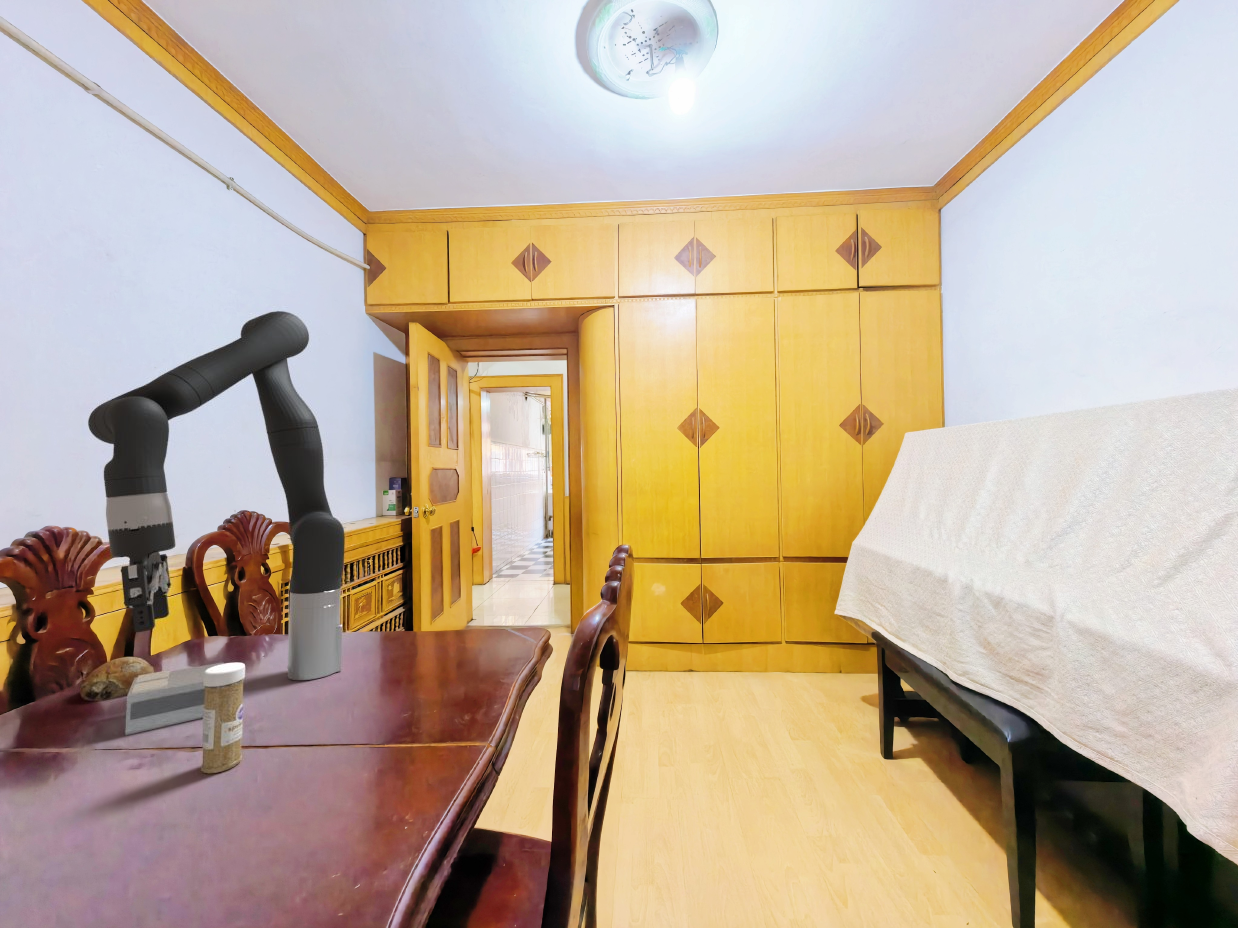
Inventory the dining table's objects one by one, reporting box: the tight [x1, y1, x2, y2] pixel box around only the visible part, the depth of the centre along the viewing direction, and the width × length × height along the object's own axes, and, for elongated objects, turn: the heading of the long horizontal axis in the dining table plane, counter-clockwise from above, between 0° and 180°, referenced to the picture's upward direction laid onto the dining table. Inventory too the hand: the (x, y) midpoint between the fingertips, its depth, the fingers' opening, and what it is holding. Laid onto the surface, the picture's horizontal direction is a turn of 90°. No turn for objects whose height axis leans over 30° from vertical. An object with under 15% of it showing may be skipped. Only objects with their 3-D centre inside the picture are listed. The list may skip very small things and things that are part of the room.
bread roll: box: [79, 656, 155, 702], centre depth 96 cm, size 10×10×8 cm
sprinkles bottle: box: [200, 662, 246, 774], centre depth 69 cm, size 5×5×14 cm
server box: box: [125, 661, 225, 736], centre depth 85 cm, size 12×10×6 cm
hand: (153, 623), depth 79 cm, fingers open, 8 cm apart
